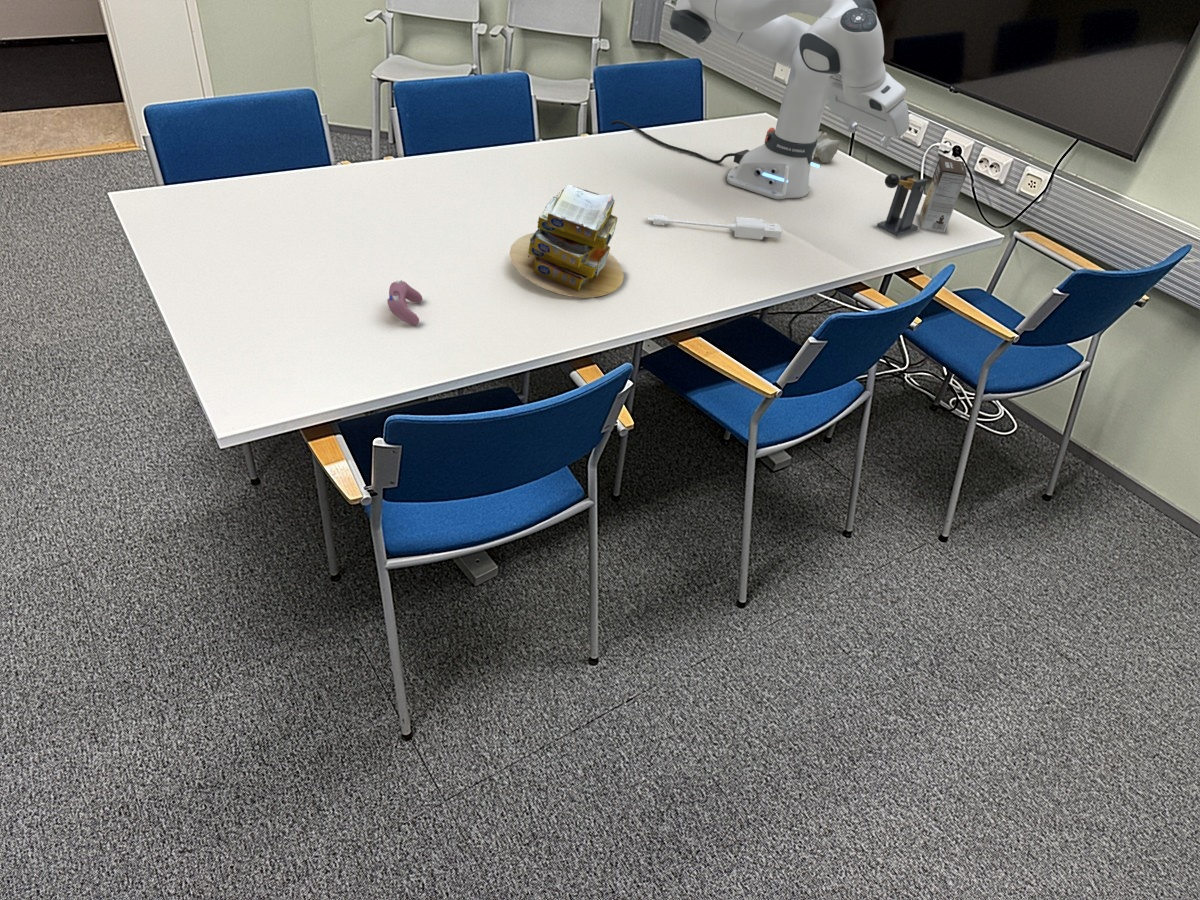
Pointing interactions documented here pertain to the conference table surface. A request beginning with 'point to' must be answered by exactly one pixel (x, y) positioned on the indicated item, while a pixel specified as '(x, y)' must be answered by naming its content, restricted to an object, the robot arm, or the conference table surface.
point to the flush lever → (898, 181)
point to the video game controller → (403, 301)
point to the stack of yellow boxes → (571, 246)
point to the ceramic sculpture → (825, 147)
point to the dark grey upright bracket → (904, 224)
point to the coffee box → (942, 194)
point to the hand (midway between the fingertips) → (869, 137)
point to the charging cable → (733, 226)
